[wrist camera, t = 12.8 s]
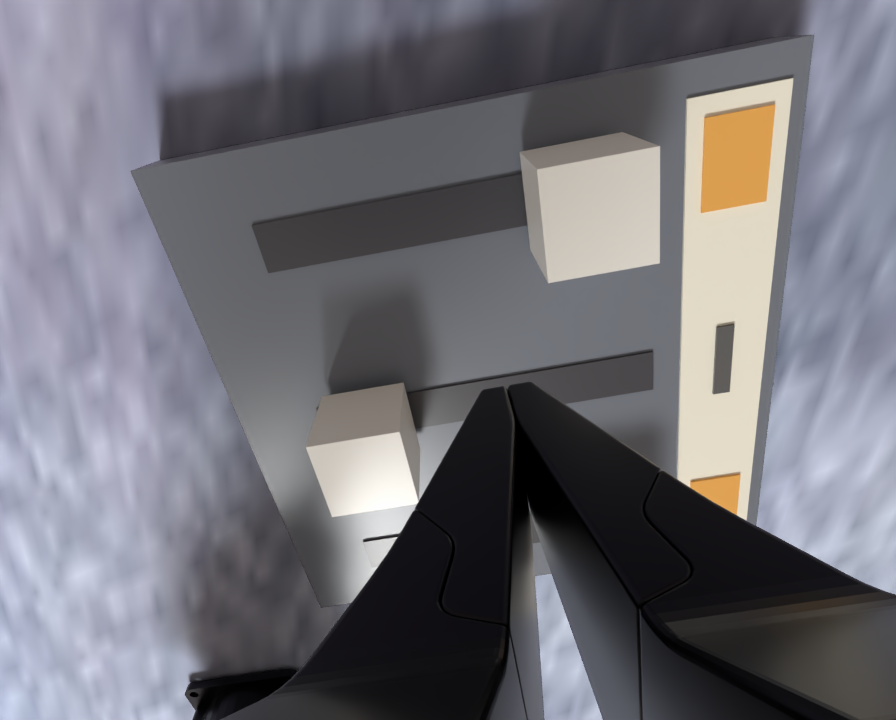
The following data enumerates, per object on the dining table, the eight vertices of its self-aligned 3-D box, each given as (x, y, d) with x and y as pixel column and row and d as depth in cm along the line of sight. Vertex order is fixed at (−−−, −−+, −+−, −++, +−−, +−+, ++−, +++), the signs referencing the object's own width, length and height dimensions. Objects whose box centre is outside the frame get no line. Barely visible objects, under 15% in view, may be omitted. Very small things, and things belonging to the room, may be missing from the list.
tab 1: (344, 460, 21) (332, 517, 19) (322, 396, 20) (305, 447, 17) (420, 448, 21) (419, 503, 19) (403, 382, 20) (399, 431, 17)
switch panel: (327, 573, 28) (320, 611, 26) (159, 160, 18) (127, 172, 16) (732, 511, 27) (756, 547, 25) (774, 37, 17) (818, 34, 15)
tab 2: (530, 249, 18) (548, 283, 15) (519, 151, 16) (536, 169, 14) (624, 232, 17) (659, 263, 15) (622, 131, 16) (660, 146, 13)
